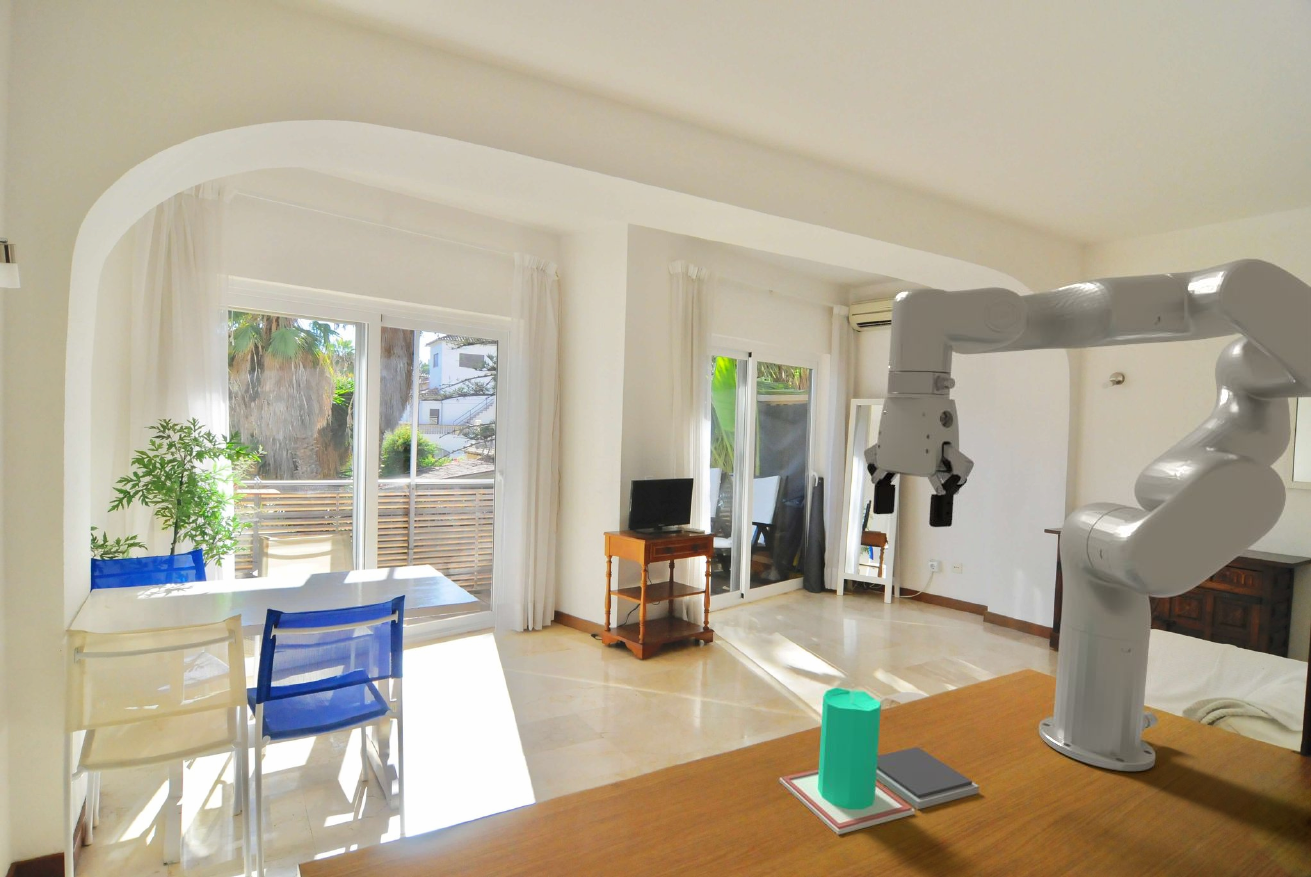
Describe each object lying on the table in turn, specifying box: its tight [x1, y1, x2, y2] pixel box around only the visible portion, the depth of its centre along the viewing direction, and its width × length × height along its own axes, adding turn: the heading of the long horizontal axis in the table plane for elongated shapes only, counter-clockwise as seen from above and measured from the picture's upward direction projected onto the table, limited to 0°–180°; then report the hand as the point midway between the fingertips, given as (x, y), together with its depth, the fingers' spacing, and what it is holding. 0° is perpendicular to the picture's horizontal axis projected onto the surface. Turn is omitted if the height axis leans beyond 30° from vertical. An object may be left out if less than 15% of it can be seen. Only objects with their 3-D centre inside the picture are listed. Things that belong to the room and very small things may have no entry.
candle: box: [818, 684, 882, 809], centre depth 73 cm, size 6×6×12 cm
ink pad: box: [876, 746, 980, 810], centre depth 78 cm, size 9×9×1 cm
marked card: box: [778, 768, 915, 836], centre depth 73 cm, size 10×10×1 cm
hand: (910, 519), depth 88 cm, fingers open, 9 cm apart
